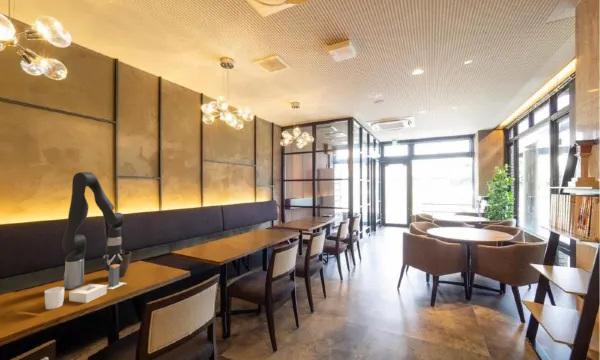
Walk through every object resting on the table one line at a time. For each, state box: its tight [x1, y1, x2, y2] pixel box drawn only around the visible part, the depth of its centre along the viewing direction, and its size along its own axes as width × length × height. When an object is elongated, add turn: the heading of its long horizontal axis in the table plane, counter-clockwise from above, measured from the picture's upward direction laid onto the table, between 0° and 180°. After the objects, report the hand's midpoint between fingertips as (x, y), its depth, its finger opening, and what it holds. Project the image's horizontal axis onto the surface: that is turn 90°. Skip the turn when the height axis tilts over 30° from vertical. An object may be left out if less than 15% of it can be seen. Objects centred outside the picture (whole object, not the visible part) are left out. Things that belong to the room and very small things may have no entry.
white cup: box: [44, 286, 65, 310], centre depth 138 cm, size 8×8×10 cm
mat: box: [106, 281, 127, 290], centre depth 166 cm, size 10×10×1 cm
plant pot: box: [109, 250, 132, 278], centre depth 184 cm, size 15×15×16 cm
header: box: [68, 283, 108, 304], centre depth 149 cm, size 12×12×6 cm
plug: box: [107, 264, 120, 287], centre depth 166 cm, size 5×5×13 cm
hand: (113, 268), depth 166 cm, fingers open, 8 cm apart
